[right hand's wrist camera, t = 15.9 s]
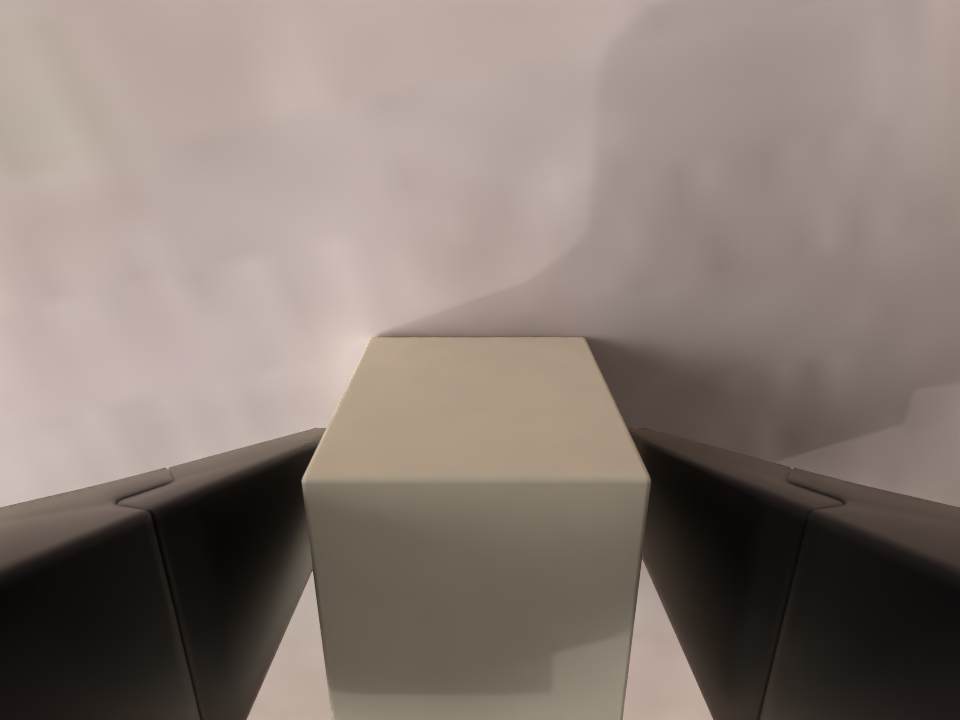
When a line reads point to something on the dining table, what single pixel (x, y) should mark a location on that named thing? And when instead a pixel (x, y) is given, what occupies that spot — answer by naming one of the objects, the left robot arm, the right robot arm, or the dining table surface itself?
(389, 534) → the block
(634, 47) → the dining table surface
